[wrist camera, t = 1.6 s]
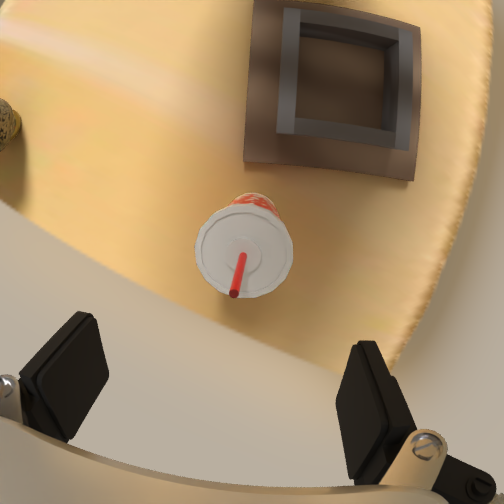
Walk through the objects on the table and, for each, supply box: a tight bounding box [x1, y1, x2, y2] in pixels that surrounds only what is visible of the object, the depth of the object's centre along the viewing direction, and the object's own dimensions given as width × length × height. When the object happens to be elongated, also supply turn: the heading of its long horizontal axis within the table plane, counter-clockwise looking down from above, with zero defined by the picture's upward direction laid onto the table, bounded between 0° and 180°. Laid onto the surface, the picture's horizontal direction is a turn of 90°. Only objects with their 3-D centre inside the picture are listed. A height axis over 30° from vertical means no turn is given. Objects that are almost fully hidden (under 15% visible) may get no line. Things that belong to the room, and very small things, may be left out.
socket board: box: [243, 0, 421, 181], centre depth 21 cm, size 15×15×4 cm
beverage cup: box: [194, 193, 293, 298], centre depth 21 cm, size 6×6×14 cm
